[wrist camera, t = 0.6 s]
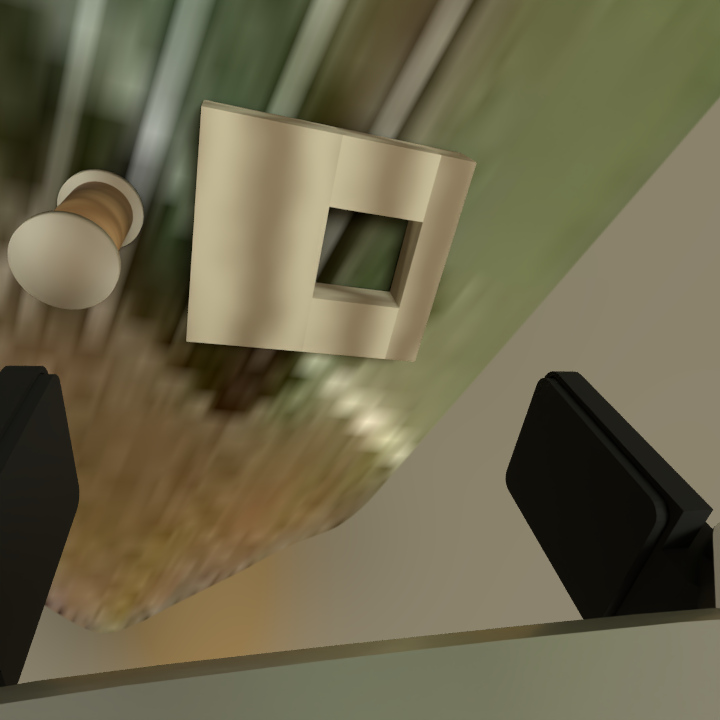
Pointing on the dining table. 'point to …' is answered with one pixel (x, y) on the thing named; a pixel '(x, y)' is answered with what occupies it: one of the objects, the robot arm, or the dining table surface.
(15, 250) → the bobbin
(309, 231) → the socket board
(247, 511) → the dining table surface
